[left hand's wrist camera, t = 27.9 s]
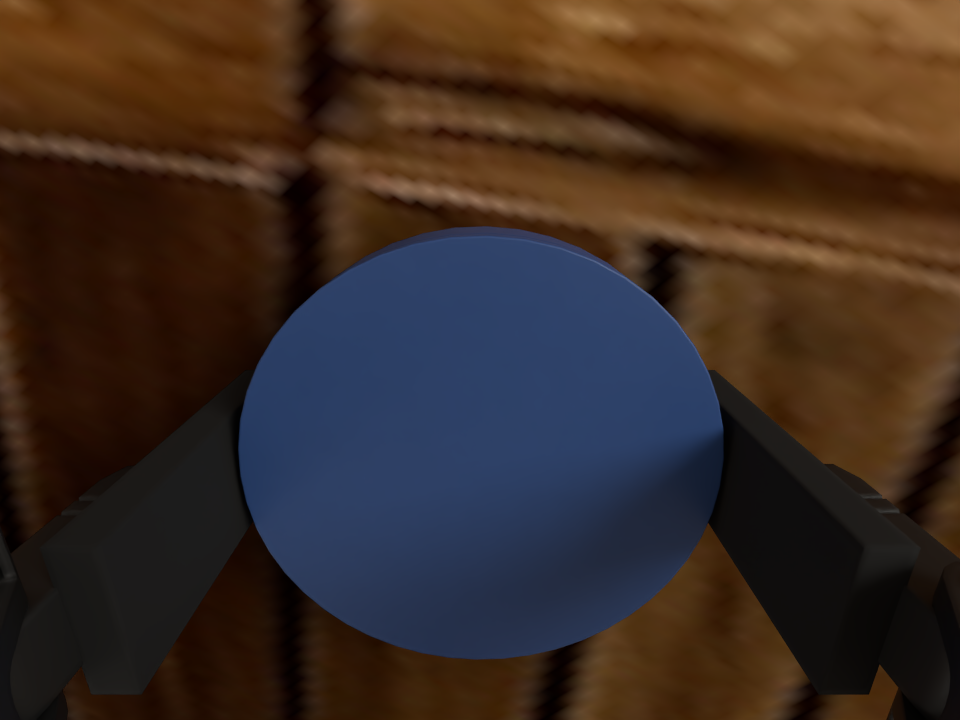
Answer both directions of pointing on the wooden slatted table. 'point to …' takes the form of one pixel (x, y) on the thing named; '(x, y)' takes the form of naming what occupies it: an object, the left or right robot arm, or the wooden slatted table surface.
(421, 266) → the lid
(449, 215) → the wooden slatted table surface
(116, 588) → the left robot arm
